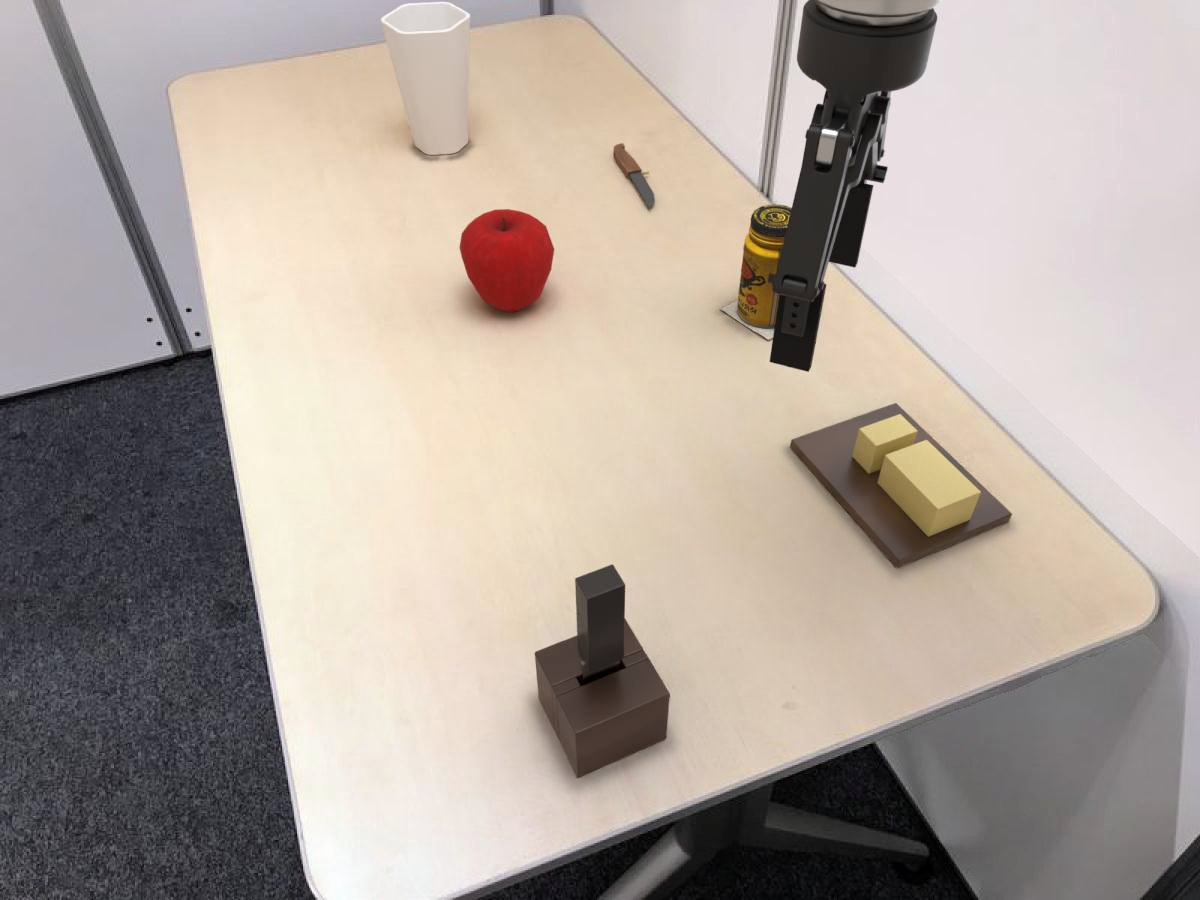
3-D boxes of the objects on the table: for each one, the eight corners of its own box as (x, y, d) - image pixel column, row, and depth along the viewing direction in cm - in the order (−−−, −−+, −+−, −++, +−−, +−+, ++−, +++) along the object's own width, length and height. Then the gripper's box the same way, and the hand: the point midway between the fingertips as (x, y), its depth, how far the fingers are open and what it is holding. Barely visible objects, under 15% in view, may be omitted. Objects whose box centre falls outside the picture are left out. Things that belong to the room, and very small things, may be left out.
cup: (430, 120, 139) (413, -4, 127) (493, 132, 136) (481, 7, 124) (388, 154, 132) (366, 26, 120) (453, 168, 129) (438, 38, 117)
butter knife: (624, 720, 70) (627, 583, 59) (589, 735, 69) (585, 600, 58) (613, 700, 71) (614, 563, 60) (578, 715, 70) (573, 578, 59)
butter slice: (909, 458, 88) (917, 430, 85) (868, 474, 86) (876, 446, 84) (892, 441, 89) (900, 413, 87) (852, 456, 88) (859, 428, 86)
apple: (572, 295, 108) (569, 209, 100) (517, 338, 102) (510, 250, 95) (504, 267, 112) (497, 181, 105) (448, 306, 107) (436, 219, 99)
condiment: (719, 310, 106) (729, 213, 97) (773, 281, 110) (787, 186, 101) (768, 341, 102) (782, 243, 93) (822, 311, 106) (840, 214, 97)
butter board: (1009, 521, 84) (1012, 513, 83) (896, 568, 80) (899, 560, 79) (893, 410, 94) (896, 402, 93) (789, 447, 90) (791, 439, 90)
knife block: (666, 738, 69) (670, 693, 65) (577, 778, 67) (575, 734, 63) (623, 663, 74) (624, 616, 69) (538, 697, 71) (534, 651, 67)
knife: (672, 200, 120) (649, 204, 120) (672, 208, 121) (649, 212, 120) (628, 141, 132) (608, 144, 131) (628, 148, 132) (608, 152, 132)
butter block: (970, 519, 82) (981, 491, 80) (928, 537, 81) (938, 509, 79) (917, 467, 87) (926, 439, 85) (876, 482, 86) (884, 454, 83)
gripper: (856, -69, 64) (810, 216, 79) (740, 74, 48) (709, 400, 62) (972, -55, 62) (902, 235, 77) (893, 99, 45) (824, 431, 60)
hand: (816, 309), depth 70 cm, fingers open, 13 cm apart
